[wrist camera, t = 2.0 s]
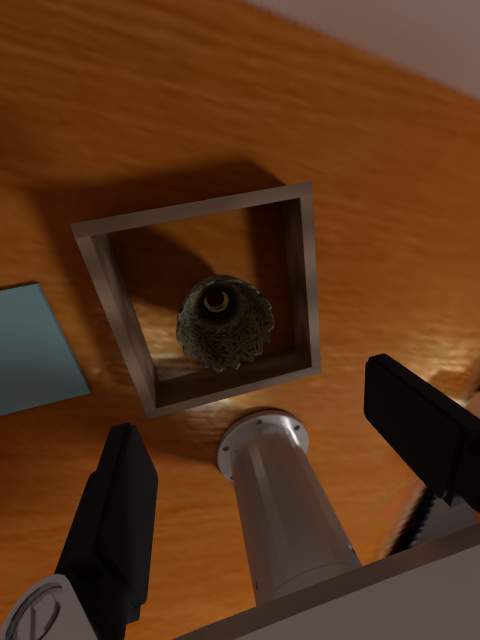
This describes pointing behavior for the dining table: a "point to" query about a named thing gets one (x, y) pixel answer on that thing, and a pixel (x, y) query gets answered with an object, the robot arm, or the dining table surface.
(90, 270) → the grey square frame
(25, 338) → the light blue square plate
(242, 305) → the dark rounded piece
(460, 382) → the dining table surface
